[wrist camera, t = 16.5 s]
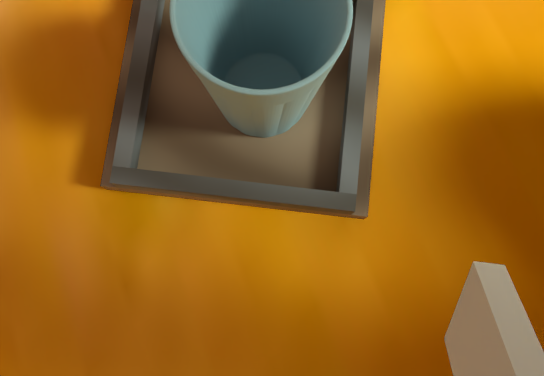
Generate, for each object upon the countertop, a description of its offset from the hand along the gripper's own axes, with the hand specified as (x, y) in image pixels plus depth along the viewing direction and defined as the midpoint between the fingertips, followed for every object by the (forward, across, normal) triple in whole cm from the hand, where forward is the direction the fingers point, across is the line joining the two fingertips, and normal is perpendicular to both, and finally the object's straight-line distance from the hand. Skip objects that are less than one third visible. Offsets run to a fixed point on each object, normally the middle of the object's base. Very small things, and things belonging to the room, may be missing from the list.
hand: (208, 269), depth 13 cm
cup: (+20, 0, -3) cm, 20 cm away
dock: (+23, -2, -1) cm, 23 cm away
